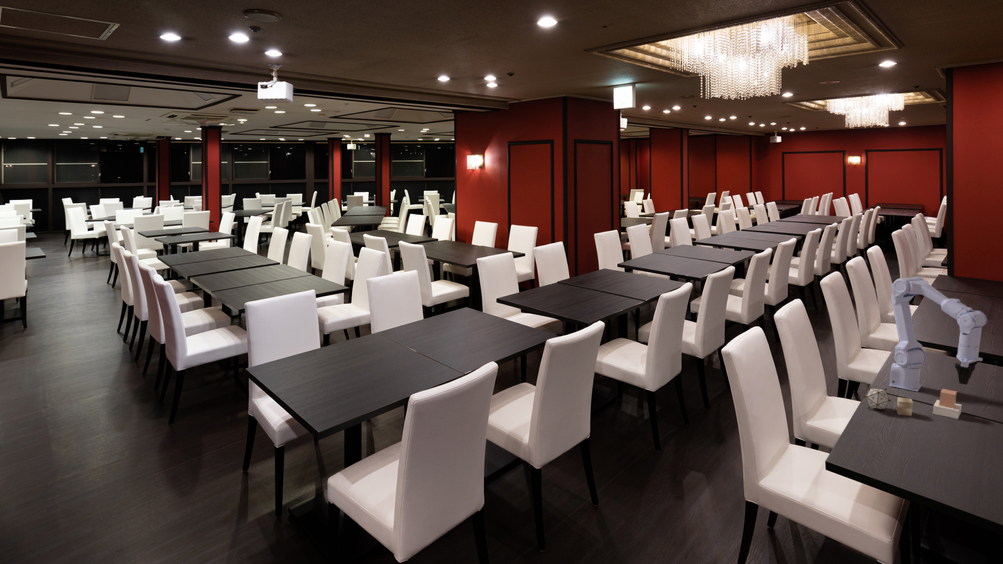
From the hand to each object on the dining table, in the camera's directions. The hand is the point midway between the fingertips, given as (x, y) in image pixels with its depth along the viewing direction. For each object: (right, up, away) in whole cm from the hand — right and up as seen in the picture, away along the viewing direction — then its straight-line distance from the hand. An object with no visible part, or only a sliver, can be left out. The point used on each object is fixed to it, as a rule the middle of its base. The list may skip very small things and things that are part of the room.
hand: (964, 380), depth 201 cm
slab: (-9, -11, -3) cm, 14 cm away
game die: (-30, -11, +3) cm, 32 cm away
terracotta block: (-9, -8, -3) cm, 13 cm away
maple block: (-23, -11, -1) cm, 26 cm away
